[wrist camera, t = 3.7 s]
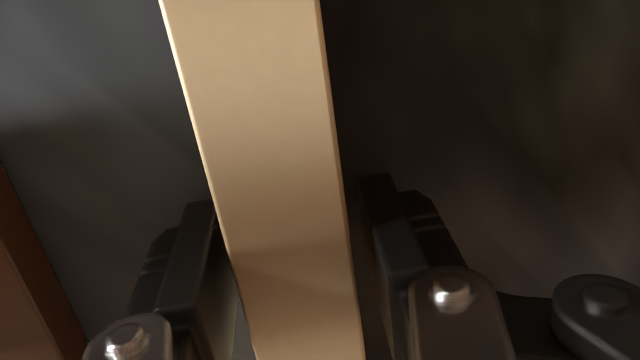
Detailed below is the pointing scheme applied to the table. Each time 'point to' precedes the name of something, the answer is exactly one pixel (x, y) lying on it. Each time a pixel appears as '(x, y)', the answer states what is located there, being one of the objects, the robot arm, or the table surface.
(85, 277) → the table surface
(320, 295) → the brush
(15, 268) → the rack
